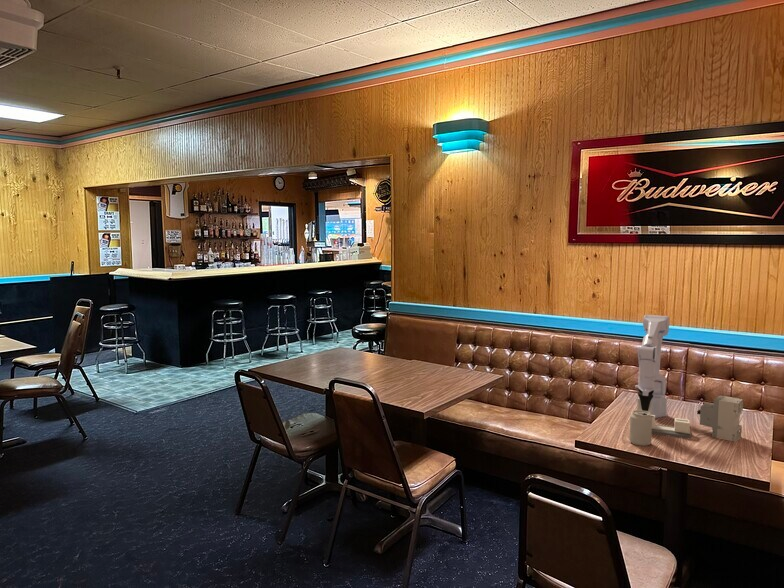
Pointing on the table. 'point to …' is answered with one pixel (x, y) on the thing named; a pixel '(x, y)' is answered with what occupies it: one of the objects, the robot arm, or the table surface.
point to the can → (640, 428)
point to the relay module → (640, 406)
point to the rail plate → (673, 428)
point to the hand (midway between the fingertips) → (645, 408)
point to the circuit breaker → (723, 417)
